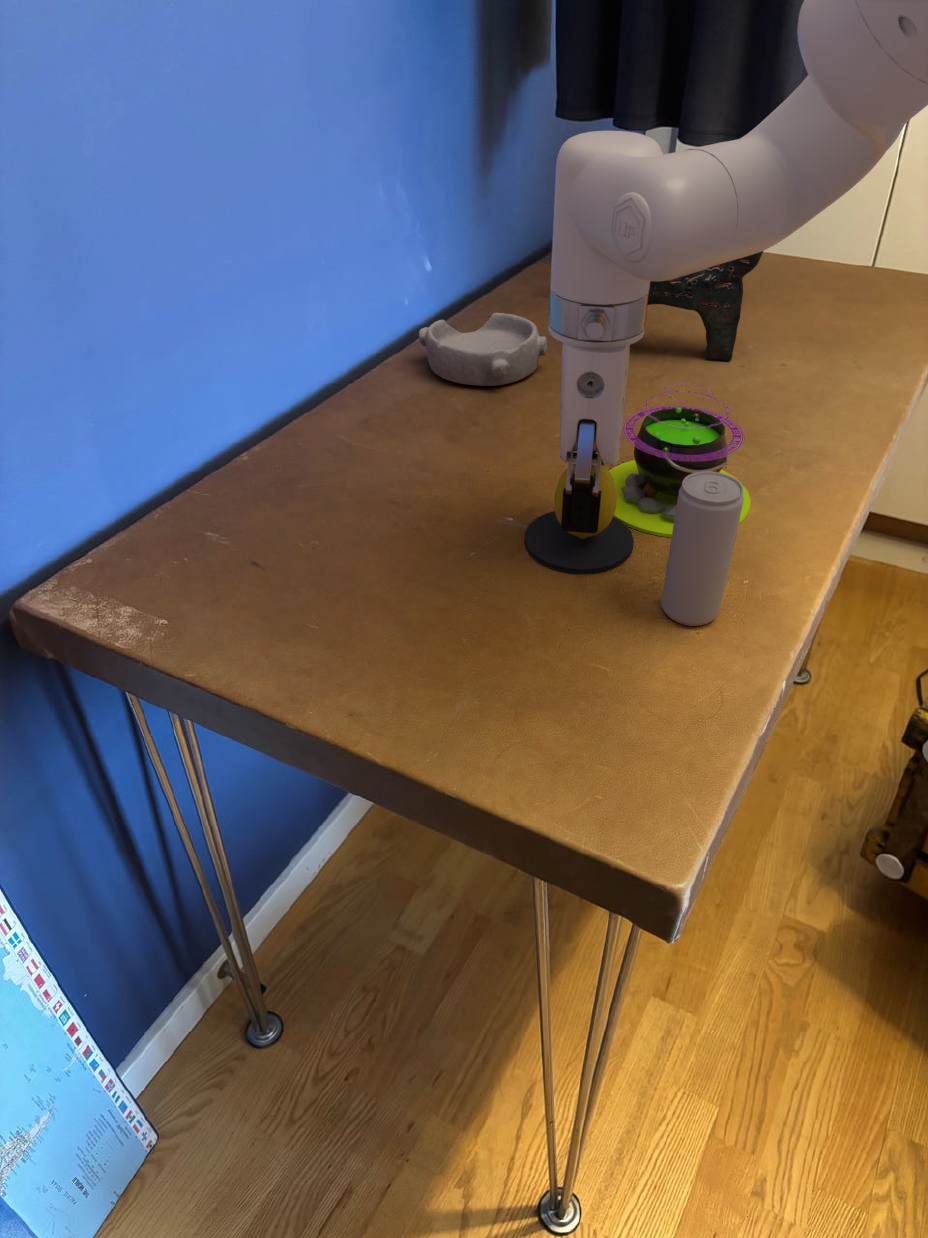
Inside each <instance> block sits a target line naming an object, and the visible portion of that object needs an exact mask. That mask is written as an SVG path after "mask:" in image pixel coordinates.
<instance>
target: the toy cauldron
mask: <svg viewBox="0 0 928 1238" xmlns="http://www.w3.org/2000/svg"><path fill="white" fill-rule="evenodd" d="M675 384H676V385H674V383H672V384H671V386H668V387H666V388H665V389H664V391H663V392H662V393H660V392H659V393H658V392H657V393H655V394H653V395H652V396H648V398H647V399H646V400H645V401H644V403H643V409H640V410H638V411H636V412H633V413H631V414H630V415H628V416H627V417H625V419H624V421H623V428H622V435H623V437H624V439H626V441H627V442H628V443H630V444H631V445H633V448H634V449H633V457H634V459H632V460H629V461H626V462H623V463H620V464H618V465H615V466H613V467H612V468H611V469H608V471H609V472H610V473H611V475H612V477H613V479H614V482H615V486H616V495H617V504H616V510H615V513H614V516H613V517H614V518H616V519H618V520H619V521H621V522H622V523H623V524H624V525H626V527H628V528H631V529H634V530H636V531H640V532H642V533H646V534H650V535H654V536H658V537H666V538H672V531H673V525H674V519H675V513H676V506H677V500H678V494H679V490H680V488H681V486H682V482H683V480H684V478H685V477H687V476H688V475H690V474H692V473H696V472H703V471H711V472H719V473H723V474H726V475H729V476H731V477H733V478H735V479H737V478H736V477H735V476H733V475H732V474H730V473H728V472H727V471H725V470H723V468H724V467H726V466H728V465H729V456H731V455H732V454H733V453H735V452H738V451H739V449H740V448H741V447H742V446H743V445H744V443H745V440H746V434H745V431H744V429H743V428H742V427H741V426H740V425H739V424H738V422H736V421H734V420H733V419H731V418H730V415H731V411H730V410H729V409H730V408H729V407H728V405H727V404H726V403H724V402H723V401H722V400H720V399H719V398H717V397H715V396H714V394H713V391H712V390H711V389H710V388H709V387H707V386H705V385H703V389H704V390H705V391H706V392H707V394H705V393H703V392H698V391H690V390H685V391H684V393H692V394H698V395H702V396H706V397H705V399H707V400H710V399H713V400H715V401H716V402H719V403H720V402H721V403H722V404H723V405H722V406H723V407H724V409H725V411H726V412H725V415H724V414H722V413H719V412H717V411H714V410H710V409H707V408H703V407H697V406H691V405H684V404H680V405H678V404H677V406H676V405H674V404H673V406H670V404H666V405H665V404H664V405H660V406H659V407H658V405H656V406H650V407H647V406H648V402H650V401H651V400H652V399H653V398H655V397H658V396H661V395H666V396H667V397H668V398H670V399H672V400H673V399H674V400H675V401H677V402H681V403H688V400H684V399H677V398H676V397H675V396H673V394H672V391H671V389H672V388H673V387H677V386H678V385H680V386H681V385H682V386H683V385H688V386H691V385H692V386H695V387H697V384H696V383H694V382H690V383H686V382H678V383H677V382H676V383H675ZM698 388H701V385H700V386H698ZM675 393H683V390H675ZM710 393H711V394H710ZM702 401H704V398H703V399H698V400H692V403H697V404H698V403H702ZM643 417H644V419H643V421H642V423H641V426H640V428H639V431H638V434H637V433H636V429H635V428H636V427H635V426H636V424H637V423H638V421H639V420H641V419H642V418H643ZM726 426H727V427H728V430H729V431H731V435H732V437H731V439H730V441H729V443H728V440H727V437H726ZM738 481H739V482H740V483H741V484H742V486H743V490H744V492H743V498H744V500H743V505H742V510H741V515H740V520H739V524H738V526H739V525H740V524H742V523H743V522H744V520H745V519H747V517H748V516H749V513H750V511H751V496H750V493H749V491H748V489H747V488H746V487H745V485H744V484H743V483H742V482H741V481H740V480H738Z"/></svg>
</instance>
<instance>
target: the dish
mask: <svg viewBox="0 0 928 1238" xmlns="http://www.w3.org/2000/svg"><path fill="white" fill-rule="evenodd" d="M418 337H419V338H418V339H419V342H420V345H421V346H423V347H425V350H426V356H427V361H428V364H429V367H430V369H431V371H432V372H433V373H434V374H435V375H437V376H439V378H442V379H444V380H447V381H449V382H453V383H456V384H462V385H468V386H478V387H479V386H481V387H494V386H503V385H508V384H512V383H515V382H518V381H520V380H523V379H525V378H526V377H528V376H530V375H531V374H533V373H534V372H535V371H536V370H537V368H538V366H539V363H540V357H541V356H542V357H543V356H545V355H546V354H547V350H548V340H547V336H545V335H542V336H540V333H539V330H538V327H537V325H536V324H535V323H534V322H532V321H531V320H529V319H527V318H526V317H522V316H519V315H516V314H511V313H504V312H494V313H492V314H491V315H490V317H489V318H488V319H487V321H486V322H485V323H484V324H483V325H482V326H481V327H480V328H478V329H476V330H475V331H469V332H461V331H460V332H459V331H458V330H456V329H454V328H453V327H451V325H449V324H448V323H447V321H446V320H445V319H439V320H436V321H434V322H432V323H431V324H430V325H429V326H425V327H422V328H420V330H419V331H418Z"/></svg>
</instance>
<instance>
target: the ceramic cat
mask: <svg viewBox="0 0 928 1238" xmlns="http://www.w3.org/2000/svg"><path fill="white" fill-rule="evenodd" d="M763 254H764V251H761V252H759V253H756V254H753V255H749V256H746V257H743V258H739V259H736V260H732V261H729V262H726V263H722V264H719V265H716V266H712V267H709V268H707V269H705V270H702V271H699V272H695V273H692V274H688V275H685V276H682V277H678V278H675V279H671V280H667V281H659V282H656V281H650V288H649V296H648V305H647V306H650V305H651V306H652V305H663V306H669V307H672V308H678V309H683V310H688V311H694V312H696V313H697V314H698V315H699V317H700V319H701V322H702V324H703V326H704V330H705V341H706V348H705V360H706V361H707V360H708V361H715V360H716V361H717V360H719V361H726V362H730V361H732V357H733V353H734V348H735V344H736V340H737V335H738V327H739V323H740V319H741V314H742V313H741V312H742V305H743V304H742V303H743V296H744V282H743V278H744V277H745V276H746V275H748V274H749V273H751V272H752V270H754V269H755V268H756V267H757V266H758V265H759V263H760V260H761V258H762V255H763Z"/></svg>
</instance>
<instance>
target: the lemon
mask: <svg viewBox="0 0 928 1238" xmlns="http://www.w3.org/2000/svg"><path fill="white" fill-rule="evenodd" d="M594 468H595V466H591V475H593V477H594ZM567 469H568V467H566V469H565V470H564V471H563V472H562V474H561V475H560V477H559V479H558V481H557V484H556V487H555V492H554V497H553V506H554V511H555V513H556V517H557V519H558V521H559V523H560V524H561V518H562V503H563V489H564V488H566V482H567ZM575 470H576V465H574V474H575ZM599 491H601V502H600V513H599V523H598V531H597V532H596V533H581V532H569V531H567V532H569V533H570V534H572V535H575V536H578V537H579V538H581V539H585V538H586V537H591V536H594V535H597V534H599V533H600V532H602V531H603V530H604V529H605V528H606V527H607V526H608V525H609V524H610V522H611V520H612V518H613V516H614V513H615V510H616V504H617V495H616V486H615V482H614V479H613V477H612V475H611V473H610V472H609V469H608V468H607V467H605V465H604V466H603V465H601V470H600V481H599Z"/></svg>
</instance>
